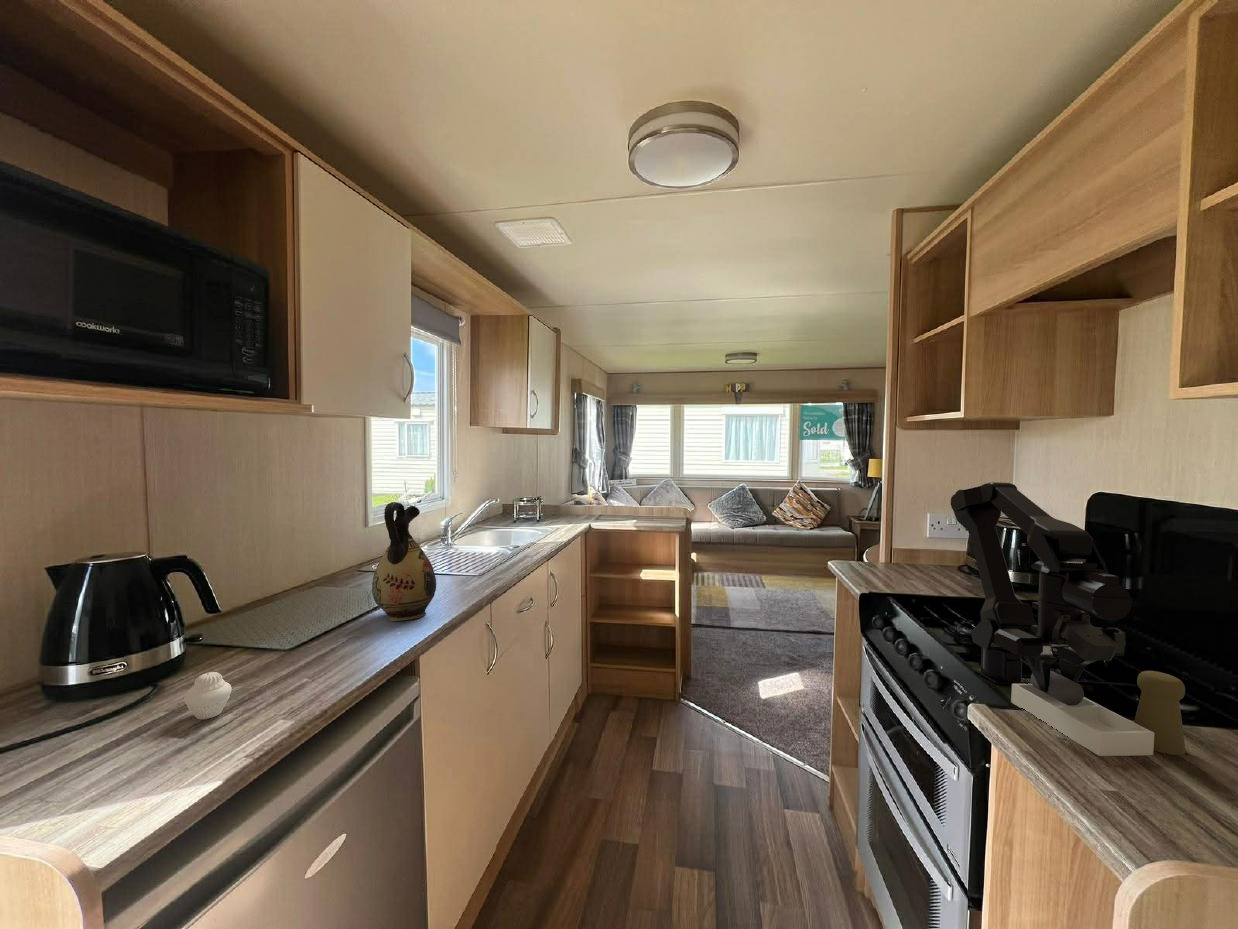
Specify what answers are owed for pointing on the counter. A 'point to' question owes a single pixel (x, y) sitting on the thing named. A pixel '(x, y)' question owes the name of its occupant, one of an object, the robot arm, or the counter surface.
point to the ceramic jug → (403, 569)
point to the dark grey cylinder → (1062, 689)
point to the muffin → (208, 695)
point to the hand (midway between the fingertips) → (1055, 691)
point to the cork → (1161, 710)
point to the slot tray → (1086, 723)
